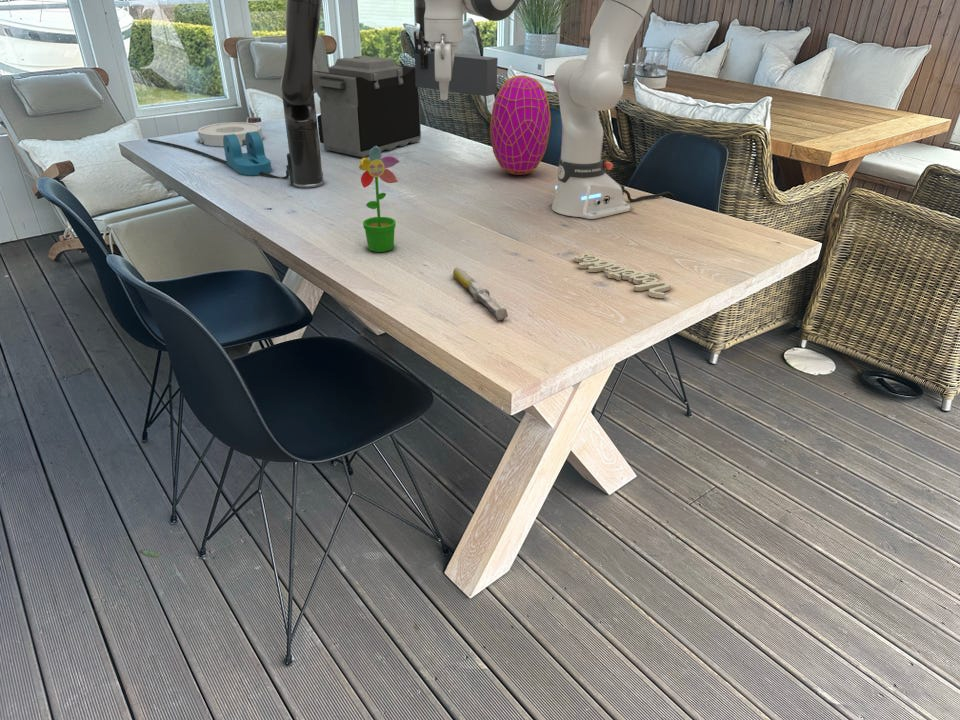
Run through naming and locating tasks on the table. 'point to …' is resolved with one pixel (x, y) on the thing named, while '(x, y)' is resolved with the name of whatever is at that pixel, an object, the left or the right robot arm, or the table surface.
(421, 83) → the box
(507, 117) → the decorative egg
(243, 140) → the ashtray
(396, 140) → the cooler
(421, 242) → the table surface
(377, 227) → the potted flower
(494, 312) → the syringe
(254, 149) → the camera mount
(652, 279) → the decorative sign
